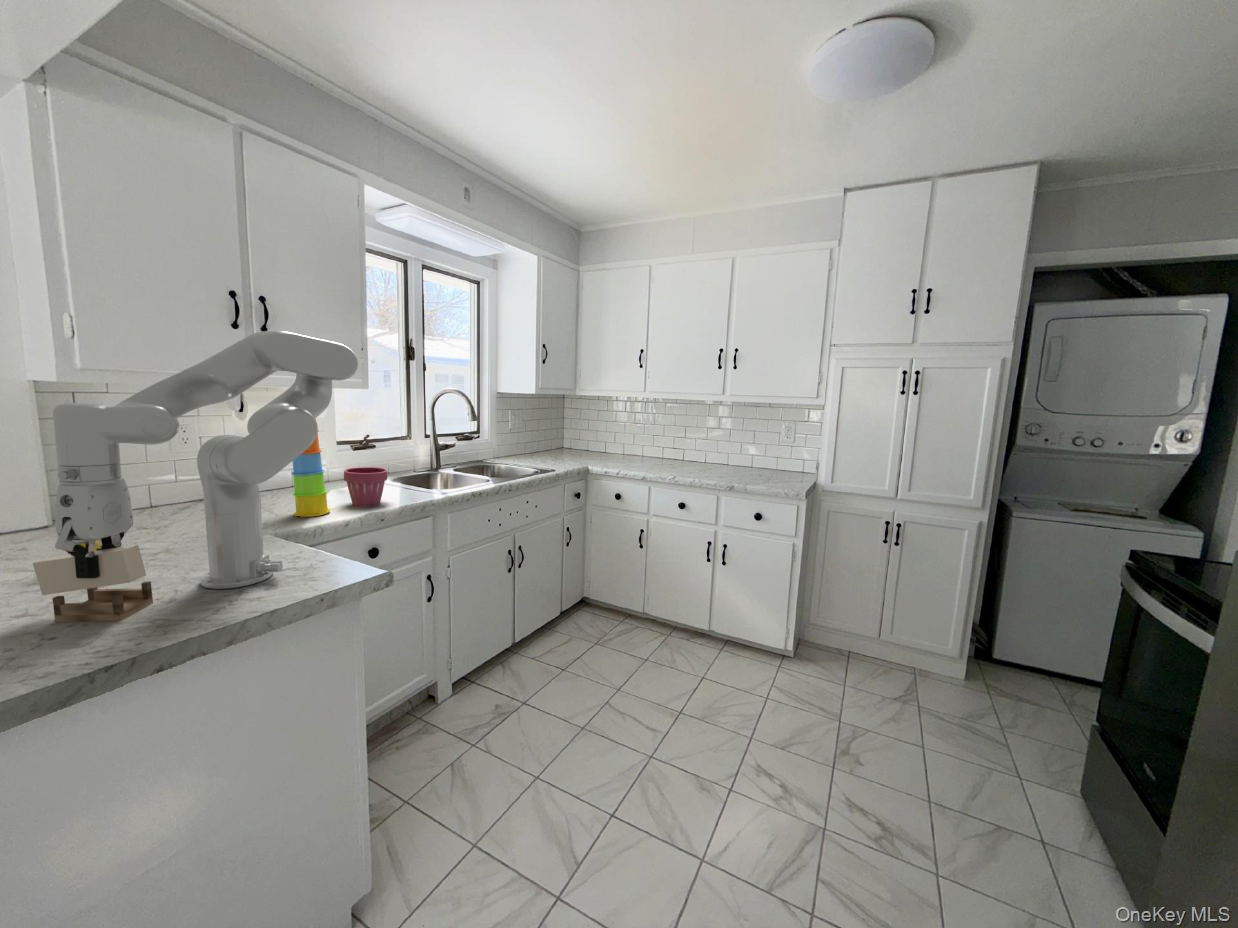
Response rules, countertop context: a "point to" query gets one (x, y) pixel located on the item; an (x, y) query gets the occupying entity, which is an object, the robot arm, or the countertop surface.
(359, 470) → the plant pot
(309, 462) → the stacking cups
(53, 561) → the clay bar
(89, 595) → the rack
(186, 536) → the countertop surface
